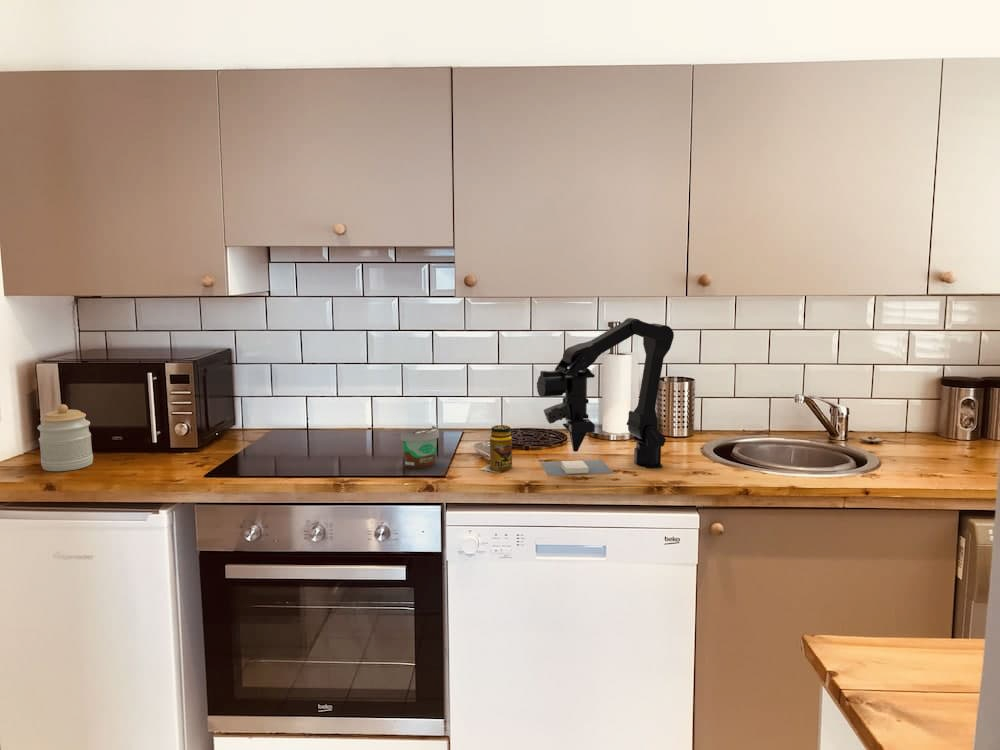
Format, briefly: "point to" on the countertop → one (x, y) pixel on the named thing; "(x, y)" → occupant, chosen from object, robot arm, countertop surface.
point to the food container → (420, 448)
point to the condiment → (500, 449)
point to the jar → (65, 440)
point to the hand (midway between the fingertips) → (575, 451)
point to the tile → (574, 467)
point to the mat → (593, 468)
